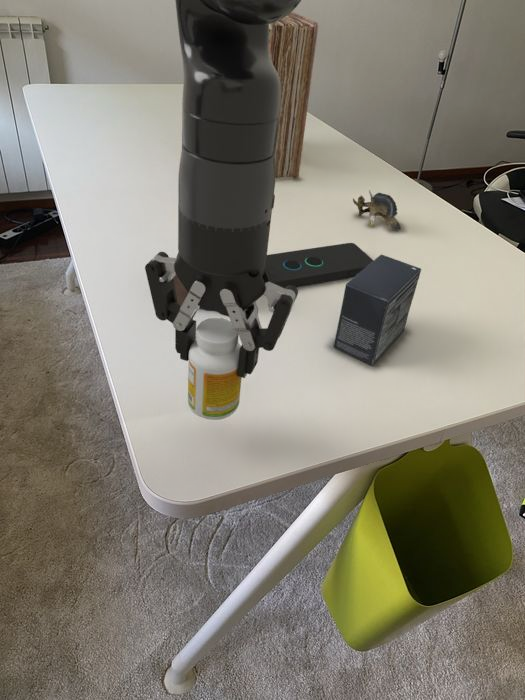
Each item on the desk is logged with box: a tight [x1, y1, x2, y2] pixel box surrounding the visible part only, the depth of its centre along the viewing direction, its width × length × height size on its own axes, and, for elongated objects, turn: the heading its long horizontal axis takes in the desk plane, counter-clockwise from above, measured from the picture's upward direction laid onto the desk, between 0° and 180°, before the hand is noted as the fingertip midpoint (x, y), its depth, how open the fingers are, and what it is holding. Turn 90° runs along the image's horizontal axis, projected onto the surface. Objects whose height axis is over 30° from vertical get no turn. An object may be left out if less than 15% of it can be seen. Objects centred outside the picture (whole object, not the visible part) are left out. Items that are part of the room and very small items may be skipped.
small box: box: [333, 254, 422, 366], centre depth 74 cm, size 11×6×10 cm, turn 145°
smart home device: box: [265, 242, 375, 288], centre depth 90 cm, size 8×2×20 cm
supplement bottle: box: [187, 317, 242, 421], centre depth 55 cm, size 5×5×10 cm
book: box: [269, 11, 319, 180], centre depth 119 cm, size 25×9×30 cm, turn 21°
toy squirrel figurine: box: [352, 190, 402, 232], centre depth 105 cm, size 8×7×9 cm
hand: (216, 363), depth 54 cm, fingers closed on supplement bottle, 5 cm apart
